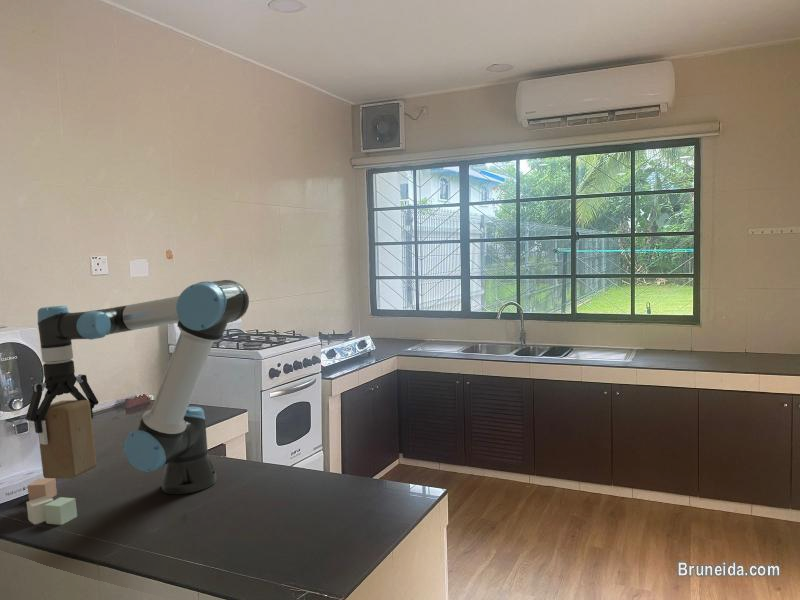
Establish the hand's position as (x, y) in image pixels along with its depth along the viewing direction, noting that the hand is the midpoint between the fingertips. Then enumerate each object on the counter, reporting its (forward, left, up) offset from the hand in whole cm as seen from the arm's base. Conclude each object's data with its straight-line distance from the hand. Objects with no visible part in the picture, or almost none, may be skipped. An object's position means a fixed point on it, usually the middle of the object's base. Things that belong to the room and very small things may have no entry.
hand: (66, 437), depth 169 cm
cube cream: (-5, +11, -18) cm, 22 cm away
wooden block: (0, 0, -11) cm, 11 cm away
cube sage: (-11, +9, -18) cm, 23 cm away
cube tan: (+10, +3, -18) cm, 21 cm away
